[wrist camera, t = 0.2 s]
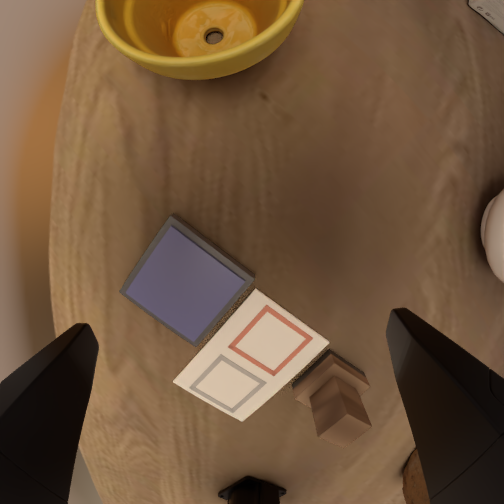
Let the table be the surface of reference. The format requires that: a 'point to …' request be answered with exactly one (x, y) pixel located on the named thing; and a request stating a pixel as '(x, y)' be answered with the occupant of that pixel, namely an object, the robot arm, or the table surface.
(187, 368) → the sheet
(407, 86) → the table surface
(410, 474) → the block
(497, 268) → the flower vase
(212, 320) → the inkpad
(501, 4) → the skincare box
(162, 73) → the plant pot
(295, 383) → the stamp
